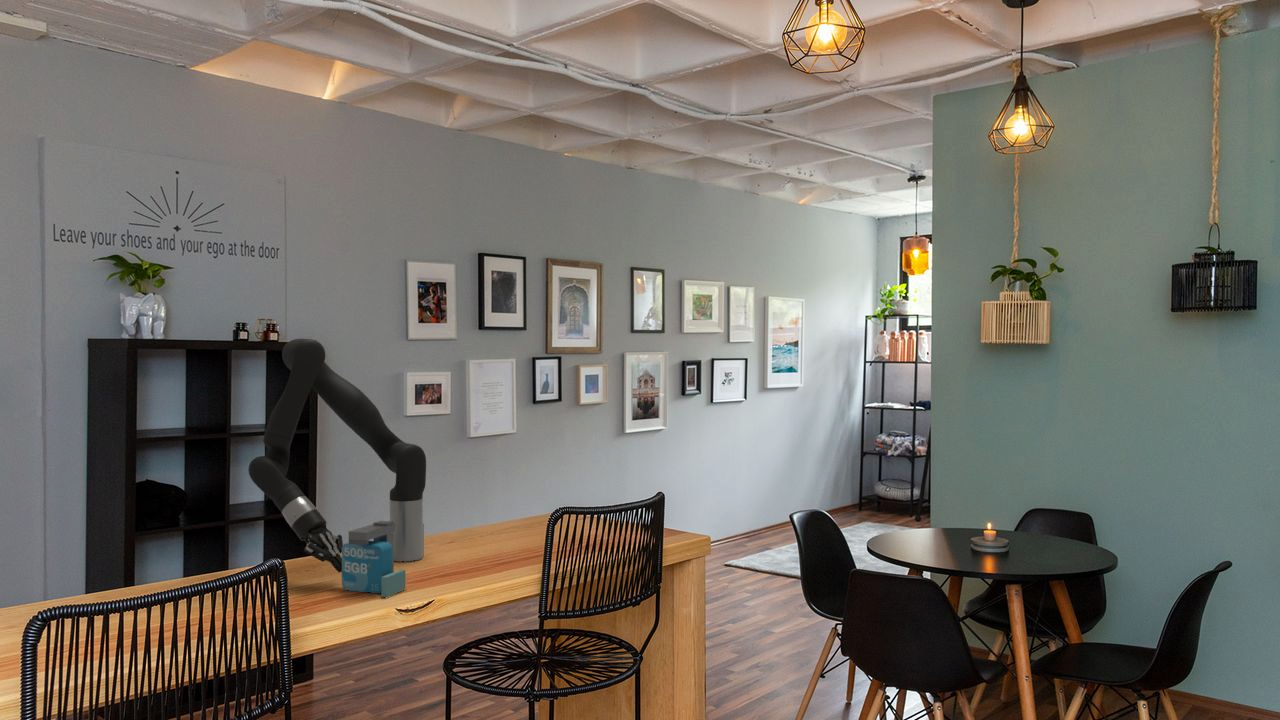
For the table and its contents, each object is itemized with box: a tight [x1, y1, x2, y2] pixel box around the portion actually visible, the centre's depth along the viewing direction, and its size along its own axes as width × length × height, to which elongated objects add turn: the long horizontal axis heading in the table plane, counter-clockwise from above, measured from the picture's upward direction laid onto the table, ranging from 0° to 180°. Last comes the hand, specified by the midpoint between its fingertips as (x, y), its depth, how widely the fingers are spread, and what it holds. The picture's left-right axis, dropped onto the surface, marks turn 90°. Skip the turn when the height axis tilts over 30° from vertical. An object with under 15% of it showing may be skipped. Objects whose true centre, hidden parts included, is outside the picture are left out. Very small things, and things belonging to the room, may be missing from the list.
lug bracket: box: [348, 520, 395, 573], centre depth 237 cm, size 14×7×16 cm, turn 161°
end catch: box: [380, 569, 406, 598], centre depth 232 cm, size 8×2×5 cm, turn 161°
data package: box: [341, 540, 392, 594], centre depth 235 cm, size 12×4×12 cm, turn 71°
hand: (343, 569), depth 236 cm, fingers closed
